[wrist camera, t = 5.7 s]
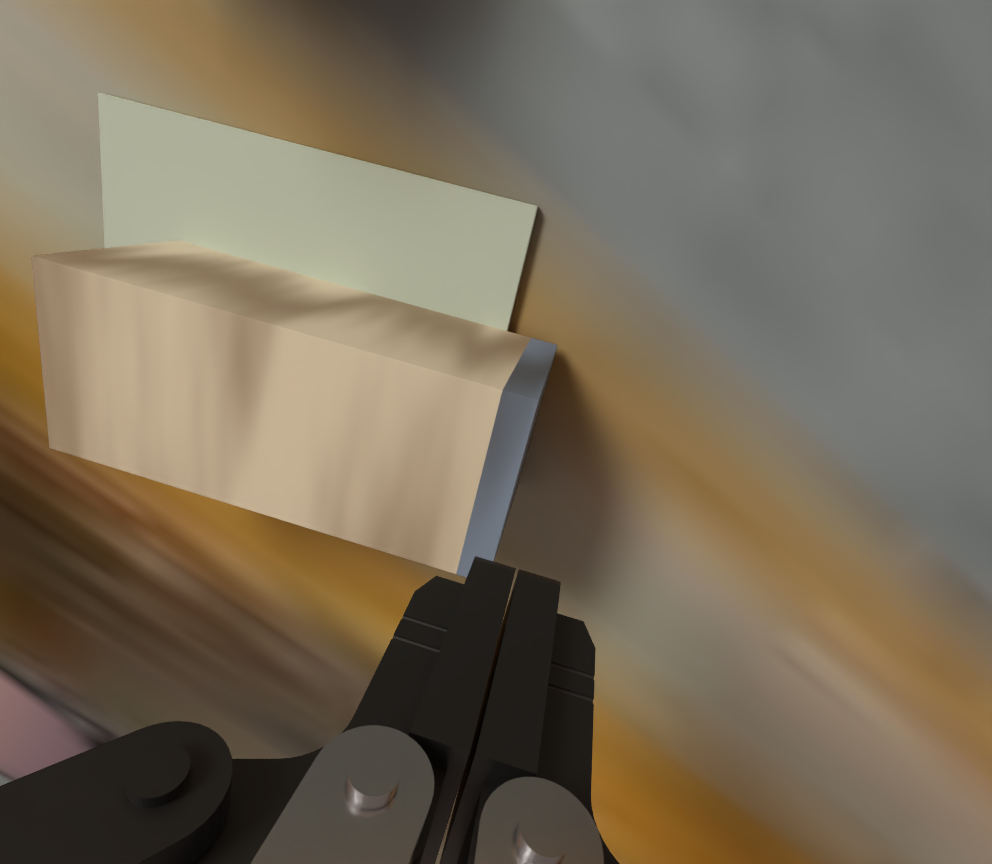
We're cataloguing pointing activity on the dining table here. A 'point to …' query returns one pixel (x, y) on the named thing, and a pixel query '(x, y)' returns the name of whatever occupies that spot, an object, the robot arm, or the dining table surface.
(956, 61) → the dining table surface
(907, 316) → the dining table surface
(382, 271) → the board
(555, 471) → the dining table surface
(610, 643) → the dining table surface
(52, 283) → the birch block
